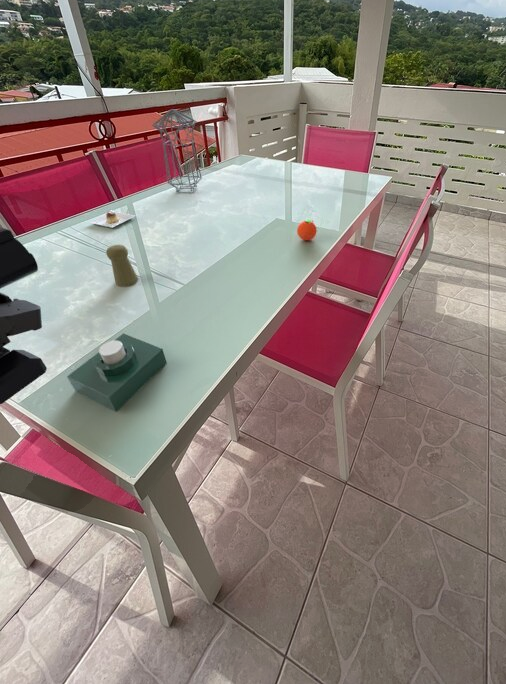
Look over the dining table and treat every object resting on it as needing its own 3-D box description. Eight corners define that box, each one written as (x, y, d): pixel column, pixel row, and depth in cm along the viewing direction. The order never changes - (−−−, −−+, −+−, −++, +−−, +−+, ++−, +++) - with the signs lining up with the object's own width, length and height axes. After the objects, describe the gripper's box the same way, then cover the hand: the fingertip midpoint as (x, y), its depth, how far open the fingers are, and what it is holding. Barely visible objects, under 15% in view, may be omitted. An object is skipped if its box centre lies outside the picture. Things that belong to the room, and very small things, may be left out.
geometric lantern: (165, 195, 154) (146, 111, 134) (177, 184, 167) (161, 106, 147) (198, 196, 154) (185, 112, 134) (207, 185, 167) (196, 107, 147)
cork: (125, 288, 92) (113, 254, 86) (110, 283, 94) (97, 249, 88) (142, 278, 96) (132, 244, 90) (128, 273, 98) (116, 240, 92)
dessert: (88, 225, 126) (84, 213, 123) (113, 213, 135) (109, 202, 133) (113, 230, 123) (109, 218, 120) (136, 218, 132) (133, 206, 129)
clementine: (305, 232, 123) (305, 214, 119) (321, 237, 120) (322, 218, 116) (293, 240, 117) (293, 222, 113) (309, 245, 114) (310, 226, 110)
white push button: (113, 367, 61) (109, 358, 60) (98, 360, 63) (93, 351, 61) (130, 353, 64) (126, 344, 63) (115, 347, 66) (111, 337, 64)
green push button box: (116, 411, 60) (105, 390, 57) (75, 390, 64) (62, 369, 60) (167, 362, 70) (160, 342, 66) (128, 347, 74) (120, 326, 70)
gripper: (60, 296, 41) (102, 378, 50) (-26, 263, 47) (24, 342, 56) (-46, 357, 33) (26, 442, 42) (-135, 307, 39) (-55, 391, 48)
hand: (7, 397), depth 47 cm, fingers closed
